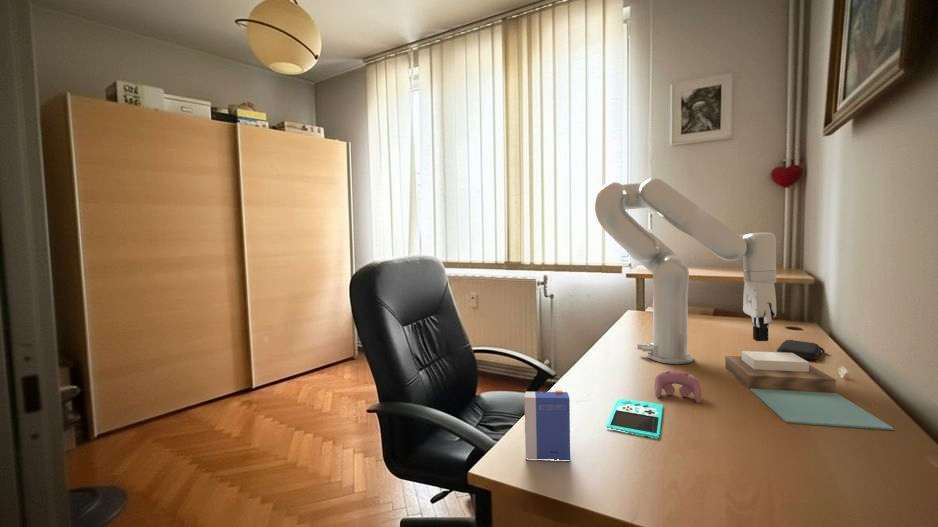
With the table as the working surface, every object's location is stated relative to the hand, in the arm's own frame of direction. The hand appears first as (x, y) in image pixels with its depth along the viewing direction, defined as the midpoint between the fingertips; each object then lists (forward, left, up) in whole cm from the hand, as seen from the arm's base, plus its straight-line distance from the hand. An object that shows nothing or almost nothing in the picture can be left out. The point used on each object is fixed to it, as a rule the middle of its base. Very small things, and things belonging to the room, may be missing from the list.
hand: (760, 340), depth 116 cm
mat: (-1, -28, -8) cm, 29 cm away
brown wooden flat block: (-1, -11, -8) cm, 13 cm away
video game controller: (-28, -26, -8) cm, 39 cm away
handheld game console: (-39, -40, -8) cm, 56 cm away
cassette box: (-1, -10, -4) cm, 11 cm away
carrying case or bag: (+17, +14, -8) cm, 23 cm away
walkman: (-57, -59, -8) cm, 82 cm away
